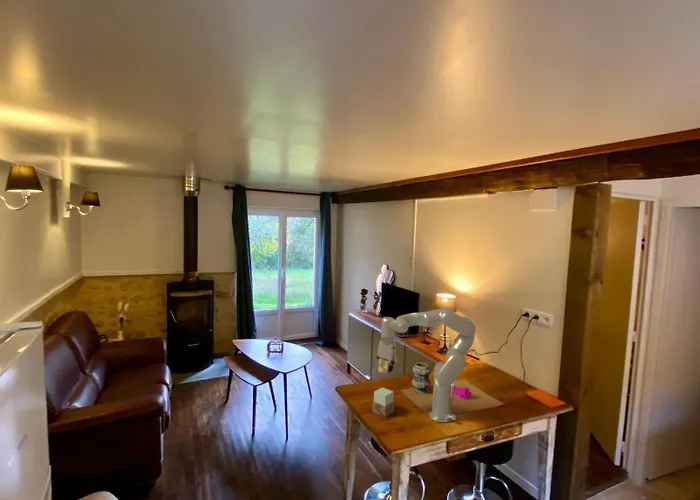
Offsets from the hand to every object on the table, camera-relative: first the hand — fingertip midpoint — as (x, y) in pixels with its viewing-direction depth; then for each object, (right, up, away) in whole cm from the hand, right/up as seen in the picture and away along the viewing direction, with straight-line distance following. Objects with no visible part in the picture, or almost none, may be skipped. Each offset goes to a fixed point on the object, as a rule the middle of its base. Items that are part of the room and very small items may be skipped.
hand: (385, 369), depth 214 cm
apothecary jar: (+26, -24, +31) cm, 47 cm away
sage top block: (-1, -19, +1) cm, 19 cm away
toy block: (+50, -26, +27) cm, 62 cm away
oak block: (0, -1, 0) cm, 1 cm away
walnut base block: (-1, -25, +1) cm, 25 cm away
